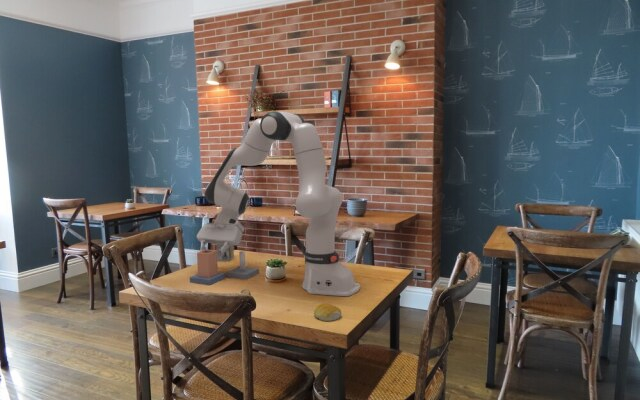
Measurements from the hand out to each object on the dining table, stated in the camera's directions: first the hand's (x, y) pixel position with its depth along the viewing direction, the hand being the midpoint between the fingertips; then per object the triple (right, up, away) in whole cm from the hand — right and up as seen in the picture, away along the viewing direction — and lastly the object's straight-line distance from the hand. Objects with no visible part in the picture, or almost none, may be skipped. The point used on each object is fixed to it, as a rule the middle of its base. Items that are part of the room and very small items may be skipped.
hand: (211, 251), depth 184 cm
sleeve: (-1, -10, -1) cm, 10 cm away
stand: (+12, -11, +6) cm, 17 cm away
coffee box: (-1, -8, +33) cm, 34 cm away
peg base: (-1, -12, -1) cm, 12 cm away
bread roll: (+47, -17, -40) cm, 64 cm away
